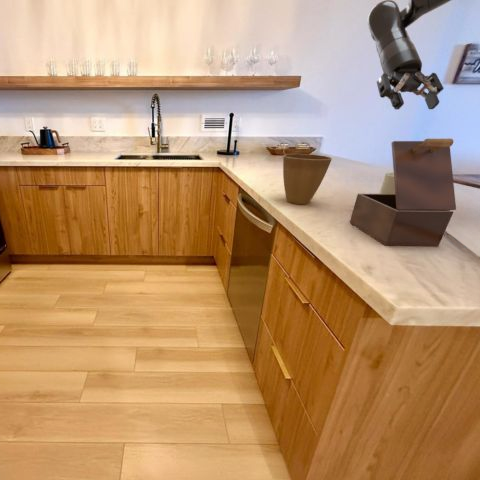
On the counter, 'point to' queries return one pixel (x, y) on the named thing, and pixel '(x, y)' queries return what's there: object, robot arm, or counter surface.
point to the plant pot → (303, 176)
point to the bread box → (398, 221)
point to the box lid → (423, 175)
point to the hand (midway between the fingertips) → (416, 106)
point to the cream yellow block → (388, 184)
